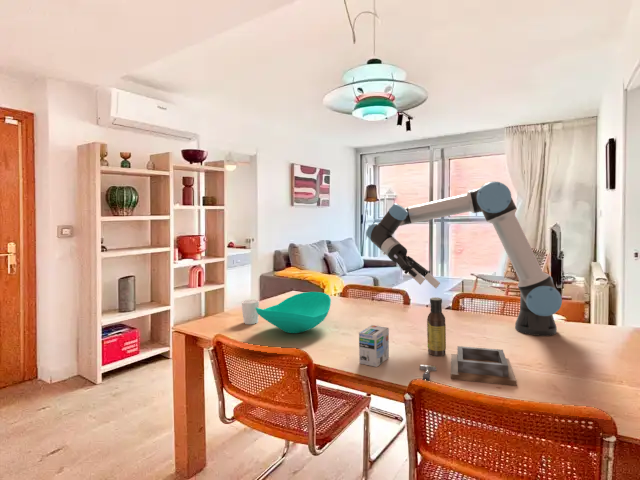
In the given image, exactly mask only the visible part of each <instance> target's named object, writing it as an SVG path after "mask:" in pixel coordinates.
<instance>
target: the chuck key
mask: <svg viewBox="0 0 640 480" xmlns="http://www.w3.org/2000/svg"><path fill="white" fill-rule="evenodd" d="M419 370H420V371H424V372H423V374H422V379H423V380H424V379H426V380H428V381H429V380H430V378H431V374H430V372H437V365H430V364H429V365H427V364H420V365H419Z"/></svg>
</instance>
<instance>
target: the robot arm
mask: <svg viewBox="0 0 640 480" xmlns="http://www.w3.org/2000/svg"><path fill="white" fill-rule="evenodd" d="M512 197H513V196H512V193H511V190H510V188H509V187H508V186H507V185H506V184H504V183H502V182H500V181H489V182H486V183H485V184H482V186H480V187H478V188H477V189H473V190H472V189H471V190H469V191H468V192H467V193H464V194H461V195H456V196H452V197H451V196H450V197H447V198H443V199H438V200H433V201H429V202H428V201H427V202H425V203H421V204H415V205H410V206H407V207H406V206H405V207H404V206H401V205H400V204H398V203H393V204H392V205H391V207H389V209H388V210H387V212H386V214H385V215H384V216H383V218H382V219H381V221H379V222H374V223H371V225H369V226H368V228H367V229H366V233H365V234H366V237H367V238H368V239H369V240H370V241H371V242H372V243H373V244H374V245H375V246H377V248H378V249H379V250H381V252H383V256H387V257H388V259H390V260H391V261H392V262H393V263H394V264H398V266H399V268H400V269H401V271H403V272H404V274H405V275H407V274H408V275H409V276H410V277H412V279H413V280H415V281H416V283H418V284H419V285H420V286H421V285H422V284H423V283H424V281H427V282H428V283H429V284H430V285H431V286H432V287H433V288H435V289H438V287H439V285H441V282H440V281H439V280H437V278H435V277H434V276H433V275H432V274H431V270H428V269H426V268H425V267H423V266H422V265H421V264H420V263H418V262H417V261H416V260H415V259H413V257H411V256H409V255H408V249H407V248H406V247H405V246H404V245H402V244H401V242H399V241H398V240H397V239H396V238H395V237H394V236H393V235H394V234H395V233H396V231H397V230H398V228H399V227H400V226H401V227H402V226H405V225H410V224H415V223H420V222H424V221H429V220H434V219H439V218H445V217H448V216H449V217H450V216H454V215H459V214H464V213H469V212H471V213H473V214H476V213H477V214H478V213H482V215H483V217H484V219H485V220H486V222H487V223H489V224H492V226H493V228H494V230H495V232H496V234H497V236H498V238H499V240H500V242H501V245H502V247H503V249H504V251H505V253H506V255H507V257H508V259H509V261H510V263H511V265H512V268H513V269H514V272H515V273H516V276H517V278H518V283H517V288H518V289H519V292H520V302H519V304H520V307H519V313H518V315H517V318H516V321H515V325H514V326H515V330H516V331H517V332H520V333H523V334H526V335H532V336H539V337H540V336H542V337H544V336H546V337H547V336H554V335H556V334H557V333H558V330H557V325H556V321H555V319H554V316H553V315H555V314H557V312H558V311H559V310H560V309H561V307H562V305H563V304H562V303H563V299H562V294H561V293H560V291H559V290H558V289H557V288H556V286H555V284H554V280H553V277H552V276H550V274H549V273H546V272H545V271H543V269H542V268H541V266H540V263H539V262H538V259H537V257H536V255H535V253H534V251H533V249H532V247H531V245H530V243H529V241H528V239H527V237H526V234H525V232H524V230H523V228H522V227H521V224H520V222H519V220H518V218H517V216H516V213H517V210H518V208H517V206H516V204H515V202H514V200H513V198H512Z"/></svg>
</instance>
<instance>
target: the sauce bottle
mask: <svg viewBox="0 0 640 480" xmlns="http://www.w3.org/2000/svg"><path fill="white" fill-rule="evenodd" d="M429 303H430V312H429V314H428V315H427V319H426V326H427V328H426V329H427V330H426V331H427V334H426V335H427V353H428V354H430V355H431V356H433V357H443V356H445V355H446V349H447V335H446V334H447V333H446V330H447V329H446V326H447V325H446V317H445V315H444V314H443V310H442V309H443V308H442V305H443V304H442V303H443V298H440V297H431V298H429Z"/></svg>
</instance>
